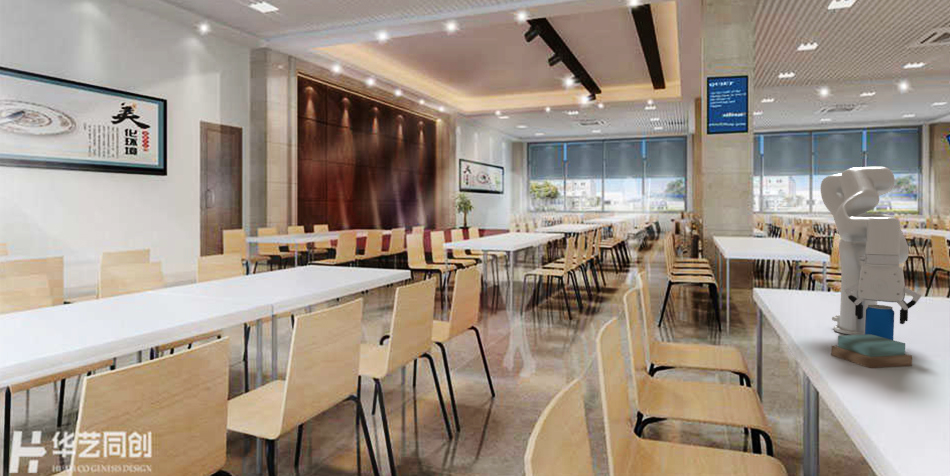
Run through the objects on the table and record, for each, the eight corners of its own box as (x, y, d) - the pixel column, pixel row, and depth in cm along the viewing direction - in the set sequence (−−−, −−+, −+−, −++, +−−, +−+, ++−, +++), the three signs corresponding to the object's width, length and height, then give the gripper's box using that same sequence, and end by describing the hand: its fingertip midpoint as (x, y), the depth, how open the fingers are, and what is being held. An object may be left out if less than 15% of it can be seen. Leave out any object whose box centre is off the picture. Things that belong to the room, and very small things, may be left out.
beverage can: (898, 351, 147) (899, 308, 146) (871, 350, 148) (873, 308, 148) (884, 345, 153) (886, 304, 153) (859, 344, 155) (861, 304, 154)
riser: (831, 354, 144) (831, 335, 144) (869, 352, 146) (870, 333, 145) (870, 368, 132) (871, 346, 132) (911, 365, 134) (912, 344, 134)
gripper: (842, 259, 153) (841, 318, 153) (919, 263, 140) (918, 327, 141) (848, 258, 158) (847, 315, 158) (924, 262, 145) (922, 323, 146)
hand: (880, 321), depth 149 cm, fingers open, 9 cm apart
